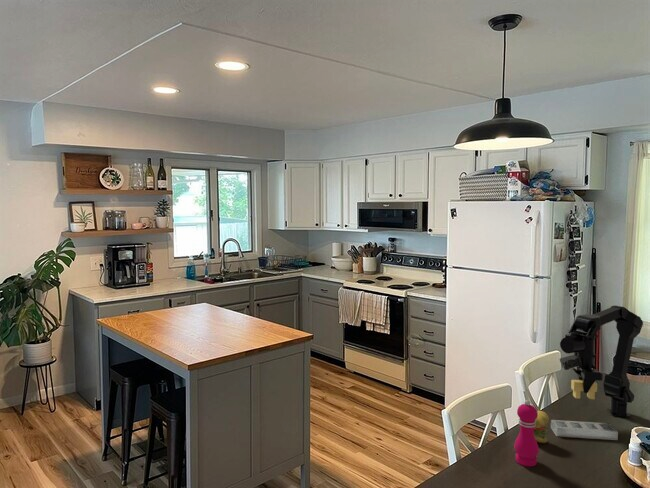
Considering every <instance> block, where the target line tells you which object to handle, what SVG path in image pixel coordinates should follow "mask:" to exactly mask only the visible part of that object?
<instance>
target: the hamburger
mask: <svg viewBox="0 0 650 488" xmlns="http://www.w3.org/2000/svg"><path fill="white" fill-rule="evenodd" d="M537 413H538V417H537V418H536V420H535V421H536V423H535V424H536V426H535V427H534V437H535V439H536V441H537V443H540V444H547V442H548V441H549V440H548V438H547V434H548V426H547V424H548V423H549V421H550V417H549V415H548V414H547V413H546V412H545V411H542V410H537Z"/></svg>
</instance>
